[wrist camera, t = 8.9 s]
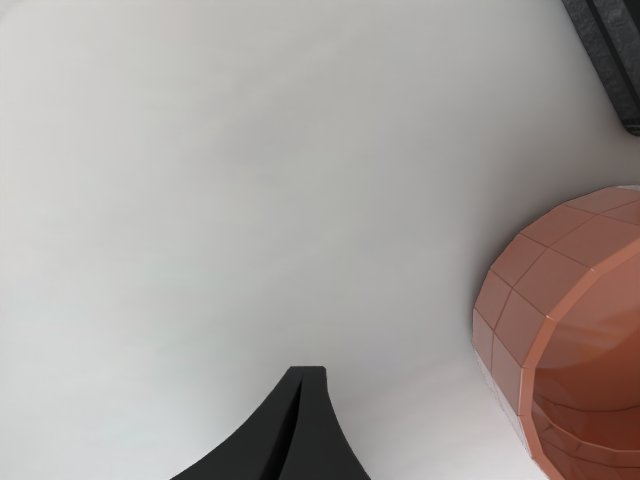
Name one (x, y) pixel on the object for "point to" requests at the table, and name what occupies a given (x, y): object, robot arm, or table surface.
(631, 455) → the bowl
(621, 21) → the phone
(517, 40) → the table surface
